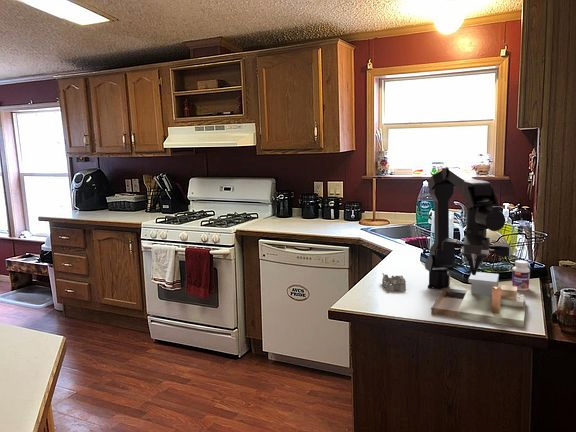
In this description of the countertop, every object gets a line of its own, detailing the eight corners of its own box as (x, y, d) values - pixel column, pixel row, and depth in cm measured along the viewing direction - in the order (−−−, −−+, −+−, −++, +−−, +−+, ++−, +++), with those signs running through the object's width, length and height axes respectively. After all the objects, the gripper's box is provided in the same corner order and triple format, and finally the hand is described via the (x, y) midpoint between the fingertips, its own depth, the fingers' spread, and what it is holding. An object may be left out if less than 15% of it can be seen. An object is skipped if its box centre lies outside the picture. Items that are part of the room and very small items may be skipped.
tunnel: (467, 300, 145) (468, 278, 144) (471, 292, 153) (472, 271, 152) (495, 304, 141) (496, 281, 140) (497, 295, 149) (498, 274, 148)
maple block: (499, 303, 142) (500, 289, 142) (500, 298, 146) (501, 285, 145) (515, 305, 140) (516, 291, 139) (516, 300, 144) (517, 286, 143)
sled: (490, 311, 134) (491, 288, 133) (495, 295, 147) (496, 274, 146) (522, 315, 130) (523, 292, 129) (523, 299, 144) (525, 277, 143)
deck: (431, 313, 140) (431, 307, 140) (443, 293, 159) (443, 287, 158) (523, 327, 129) (523, 320, 128) (525, 303, 147) (525, 297, 147)
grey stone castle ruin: (381, 282, 173) (381, 272, 172) (401, 282, 173) (401, 272, 172) (385, 291, 163) (385, 280, 162) (407, 291, 162) (407, 280, 162)
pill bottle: (511, 290, 160) (513, 262, 159) (511, 285, 165) (512, 259, 164) (529, 291, 158) (530, 264, 157) (528, 287, 163) (529, 260, 161)
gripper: (438, 226, 135) (436, 278, 137) (509, 232, 126) (506, 287, 128) (445, 220, 144) (443, 268, 147) (512, 224, 135) (508, 275, 138)
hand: (474, 274), depth 140 cm, fingers closed
